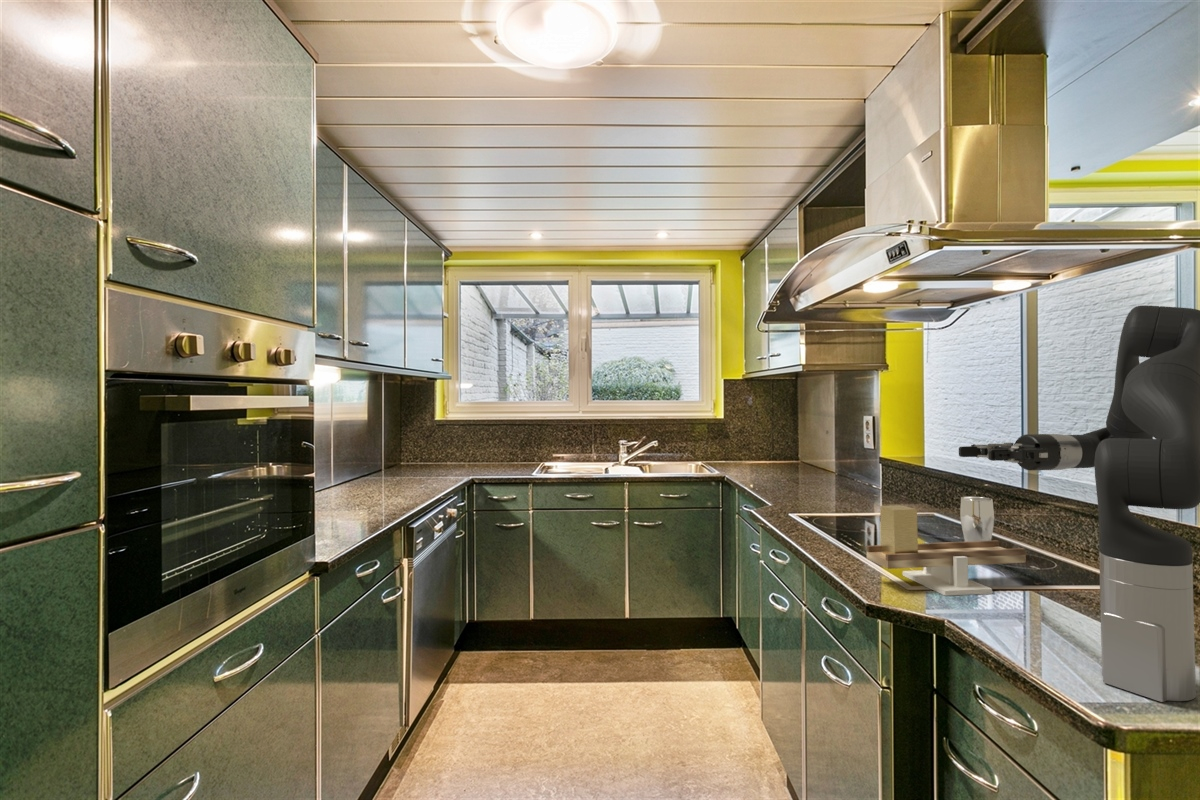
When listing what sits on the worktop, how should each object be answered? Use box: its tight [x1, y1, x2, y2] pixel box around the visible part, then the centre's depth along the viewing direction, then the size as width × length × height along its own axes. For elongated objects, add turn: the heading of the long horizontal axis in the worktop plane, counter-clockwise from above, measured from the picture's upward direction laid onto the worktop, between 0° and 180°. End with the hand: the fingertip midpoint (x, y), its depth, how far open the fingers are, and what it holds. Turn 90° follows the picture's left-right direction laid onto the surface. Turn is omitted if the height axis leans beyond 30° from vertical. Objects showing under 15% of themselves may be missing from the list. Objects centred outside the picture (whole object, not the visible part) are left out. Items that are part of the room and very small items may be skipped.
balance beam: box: [865, 539, 1027, 570], centre depth 123 cm, size 30×8×3 cm, turn 95°
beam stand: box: [902, 556, 993, 597], centre depth 123 cm, size 10×14×7 cm
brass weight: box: [879, 504, 919, 554], centre depth 122 cm, size 5×5×10 cm
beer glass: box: [959, 495, 995, 542], centre depth 142 cm, size 7×7×15 cm
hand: (974, 453), depth 120 cm, fingers open, 8 cm apart
